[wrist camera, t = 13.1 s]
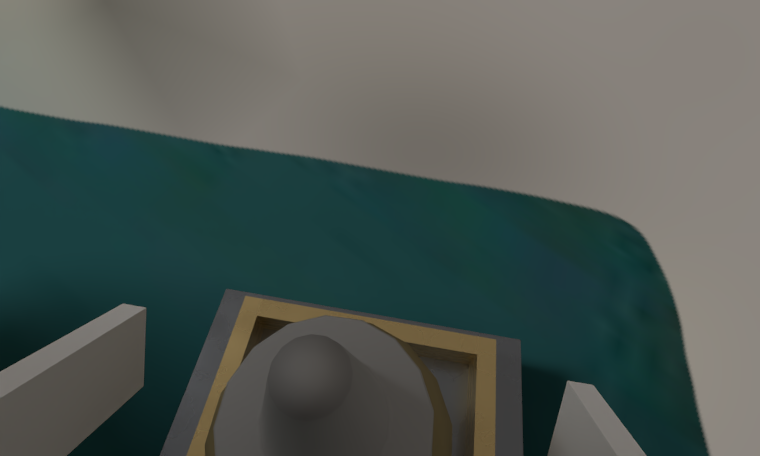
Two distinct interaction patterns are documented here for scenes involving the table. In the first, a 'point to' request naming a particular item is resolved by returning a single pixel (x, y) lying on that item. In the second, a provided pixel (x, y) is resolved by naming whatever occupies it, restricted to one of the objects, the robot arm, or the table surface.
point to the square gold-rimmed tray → (430, 342)
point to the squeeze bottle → (331, 396)
